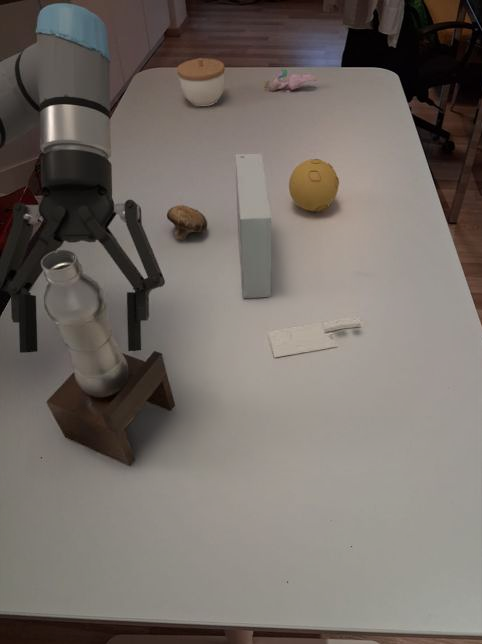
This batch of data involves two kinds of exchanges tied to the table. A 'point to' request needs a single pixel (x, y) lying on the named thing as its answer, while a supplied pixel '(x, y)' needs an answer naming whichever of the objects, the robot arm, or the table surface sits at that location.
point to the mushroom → (186, 220)
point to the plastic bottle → (83, 324)
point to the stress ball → (313, 185)
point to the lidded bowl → (202, 80)
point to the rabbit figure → (292, 82)
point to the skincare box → (253, 226)
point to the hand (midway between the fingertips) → (81, 351)
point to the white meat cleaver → (307, 337)
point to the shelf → (111, 408)
